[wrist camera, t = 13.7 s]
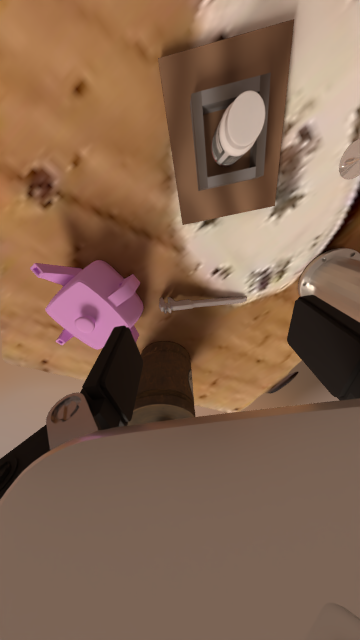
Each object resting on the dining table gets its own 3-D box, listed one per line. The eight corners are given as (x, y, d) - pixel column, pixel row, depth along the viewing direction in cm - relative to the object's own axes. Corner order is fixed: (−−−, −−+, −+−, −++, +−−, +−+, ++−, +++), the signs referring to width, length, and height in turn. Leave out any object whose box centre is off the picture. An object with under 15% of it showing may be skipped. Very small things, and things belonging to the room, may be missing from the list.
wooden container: (174, 381, 56) (173, 465, 38) (132, 366, 52) (108, 452, 33) (199, 353, 49) (214, 437, 31) (154, 332, 45) (138, 417, 27)
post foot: (286, 31, 21) (308, -5, 17) (270, 206, 30) (282, 205, 27) (159, 67, 22) (156, 41, 18) (182, 224, 31) (183, 225, 28)
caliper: (160, 300, 40) (158, 314, 35) (160, 296, 40) (157, 309, 34) (245, 300, 41) (255, 313, 35) (246, 296, 40) (257, 309, 35)
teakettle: (143, 329, 44) (133, 365, 34) (75, 321, 43) (43, 356, 32) (147, 264, 35) (135, 285, 25) (61, 250, 34) (10, 268, 23)
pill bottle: (249, 135, 24) (280, 104, 17) (230, 173, 27) (250, 159, 20) (222, 113, 23) (243, 69, 16) (204, 155, 25) (215, 133, 18)
